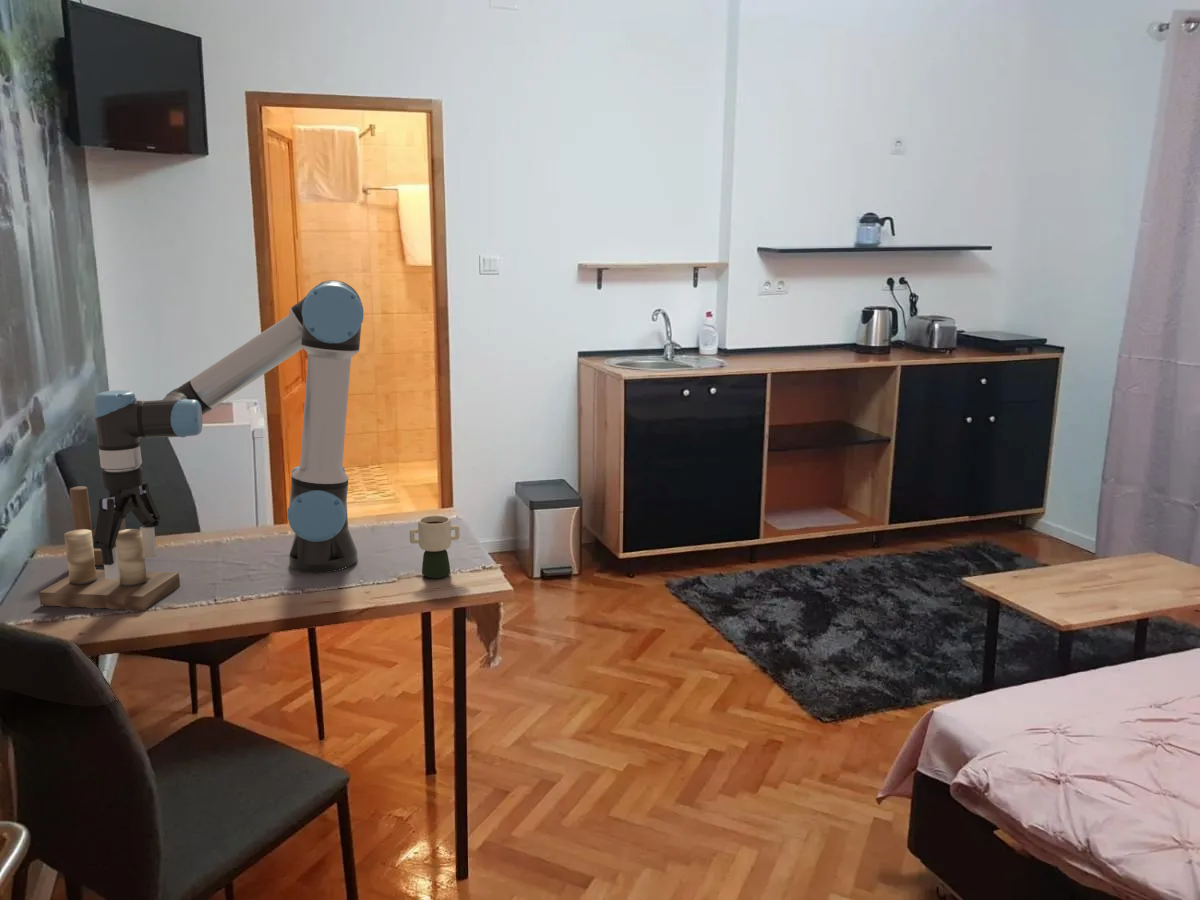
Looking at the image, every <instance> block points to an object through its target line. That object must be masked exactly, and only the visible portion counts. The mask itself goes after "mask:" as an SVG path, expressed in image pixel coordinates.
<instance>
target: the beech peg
mask: <svg viewBox="0 0 1200 900" xmlns="http://www.w3.org/2000/svg"><path fill="white" fill-rule="evenodd" d="M116 547H117V551H118V560H119V569H120V586H122V587H138V586H141V585H143V584H145V583H146V582H147V577H146V571H147V570H146V559H145V558H146V557H144V548H143V538H142V530H140V528H128V529H127V528H126V530H121V531H119V532H118V536H117V539H116Z"/></svg>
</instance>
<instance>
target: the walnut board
mask: <svg viewBox="0 0 1200 900" xmlns="http://www.w3.org/2000/svg"><path fill="white" fill-rule="evenodd" d="M92 531H93V530H92ZM92 531H91V530H87V529H81V530H70V531H66V532H65V533H64V534H63V537H64V545H65V546H64V547H65V552H66V553H65V554H66V561H67V562H66V563H67V571H68V576H66V577H64V578H63V579H60V580H59V581H57V582H55V583H54V584H51V585H49V586H48V587H45V588H44V589H42V590H41V591H38V596H39V603H40V606H41V605H45V606H44V607H46V606H62V607H61V608H70V607H87V608H86V609H94V608H109V609H108V610H118V609H124V610H125V611H142V612H143V611H146V610H147V609H148V608H150V607H151V606H153V605H155V604H156V603H158V602H159V601H160V600H162V599H163V598H165V597H166V596H167V595H170V593H172V592H174V591H175V590H176V589H178V588H180V586H181V581H180V572H172V571H169V572H168V571H147V570H146V577H147V582H146V583H145V584H143V585H141V586H138V587H122V586H120V579H118V580H117V579H105V570H104V569H96V566H97V565H96V566H95V558H94V549H93V540H94V539H93V540H92ZM124 610H123V611H124Z"/></svg>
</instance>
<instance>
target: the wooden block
mask: <svg viewBox="0 0 1200 900" xmlns="http://www.w3.org/2000/svg"><path fill="white" fill-rule="evenodd" d="M69 496H70V503H71V504H70V506H71V512H72V513H71V515H72V521H73V529H74V530H81V529H87V530H91V531H92V540H93V543H94V537H95V531H96V527H94V528H93V525H92V515H91V507H90V499H89V489H88V487H87V486H84V485H80V486H79V485H78V486H73V487H70V488H69ZM114 512H115V510H114ZM126 529H127V525H126V517H125V518H123V520H122V523H121V526H120V529H119V531H121V530H126ZM114 547H116V542H115V545H114ZM93 549H94V558H95V565H96V566H104V563H103V557H102V550H101V549H96V548H93Z"/></svg>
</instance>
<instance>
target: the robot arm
mask: <svg viewBox="0 0 1200 900" xmlns="http://www.w3.org/2000/svg"><path fill="white" fill-rule="evenodd" d="M361 300H362V299H361V297H360V296H359V293H358V292H357V291H356V289H354V288H353V287H352V286H351V285H350V284H349V283H346V282H344V281H341V280H335V279H333V280H326V281H322V282H320V283H318V284H317V285H316V286H314V287H313V288H312V289H311V290H310V291H309V292H308V293H307V294H306V296H305V297H303V298H302V299H301V300H300V301H298V302H297V303H295V304H294V305H293V306H291V307H290V308H289V312H288V314H287V315H286V316H285V317H283V318H282V319H280V320H279V321H277V322H276V323H274V324H273V325H271V326H269V327H268V328H267V329H265V330H263V331H262V332H261V333H258V335H256V336H254V337H253V338H252V339H250V340H248V341H246V343H243V344H242V345H241V346H238V348H236V349H235V350H233V351H232V352H230V353H229V354H227V355H226V356H224V357H223V358H221V359H220V360H217V362H215V363H214V364H212V365H210V366H209V367H207V368H206V369H204V370H202V371H201V372H200V373H198V374H197V375H196V376H194V377H192V378H191V379H189V381H187V382H185V383H183V384H181V385H180V386H179V387H177V388H173V390H171V391H170V392H169V393H167V394H166V395H165V397H163V398H162V399H161V400H160V399H159V400H158V399H157V400H137V397H136V394H135V392H133V391H131V390H122V389H121V390H120V389H119V390H107V391H102V392H98V393H97V394H96V395H95V396H94V399H93V402H94V403H93V404H94V415H93V419H94V421H95V428H96V436H97V444H98V445H97V446H98V454H99V462H100V463H99V464H100V468H101V469H102V470H101V472H100V473H101V474H100V475H101V483H102V488H103V489H105V490H107V491H108V498H107V497H106V498H99V499H98V513H97V521H96V525H95V526H96V527H95V528H96V531H95V536H93V540H94V543H93V548H96V549H101V550H102V557H103V563H104V565H103V570H105V579H117V580H118V579H120V569H119V560H118V551H117V547H114V545H115V542H116V539H117V536H118V532H119V529H120V526H121V523H122V520H123V518H125V519H126V517H127V514H129V513H130V512H131V513H132V514H133V515H134V517H136V519H137V520H138V521H139V523H140V524H141V525H142V526H140V527H139V529H140V530H142V538H143V548H144V557H145V558H156V557H158V555H157V552H158V551H157V543H156V542H157V541H156V533H155V527H159V526H160V521H161V515H160V513H159V511H158V508H157V506H156V505H155V502H154V499H153V497H152V495H151V493H150V487H149V484H148V482H144V472H143V467H142V466H141V465H142V464H143V460H142V453H141V444H140V443H141V441H140V439H149V438H150V439H151V438H185V437H192V436H198V435H200V434H201V432H203V431H202V430H203V415H205V414H206V413H208V412H210V411H211V410H212V409H213V408H215V407H217V406H218V405H220V404H221V403H223V402H224V401H225V400H227V399H229V398H230V397H231V396H233V395H235V394H236V393H238V392H240V391H241V390H242V389H244V388H245V387H247V386H249V385H250V384H251V383H253V382H255V381H256V380H257V379H259V378H260V377H263V375H265V374H267V373H269V372H270V371H271V370H272V369H274V368H275V367H278V366H279V365H281V364H282V363H284V362H285V361H287V360H288V359H290V358H291V357H292V356H294V355H296V354H297V353H299V352H301V350H304V351H305V352H306V353H307V365H306V378H305V379H306V381H305V394H304V405H303V406H304V407H303V419H302V420H303V421H302V435H301V449H300V450H301V451H300V461H299V462H300V463H299V465H298V466H295V467H294V468H293V469H292V470H291V478H290V480H291V481H290V482H291V483H290V492H289V493H290V494H289V505H288V508H287V512H286V516H287V520H288V523H289V526H290V528H291V530H292V531H293V533H294V537H293V540H292V544H291V548H290V552H289V556H288V560H289V562H288V563H289V567H290V568H291V569H292V570H294V571H297V572H301V573H308V574H310V573H312V574H315V573H316V574H317V573H318V574H319V573H320V572H322V573H330V572H329V571H331V572H335V571H334V570H337V571H340V570H339V569H341V570H343V569H342V568H344V569H346V568H345V567H347V568H349V567H348V566H350V565H352V564H353V563H355V562H356V561H357V562H358V560H357V559H359V558H358V549H357V546H356V544H355V542H354V540H353V537H352V533H351V532H350V529H349V521H348V502H347V501H348V500H347V499H348V488H349V475H348V474H347V473H346V470H345V469H346V468H345V467H344V466H343V460H344V448H345V438H346V437H345V436H346V423H347V413H348V412H347V410H348V400H349V386H350V376H351V366H352V365H351V363H352V358H353V357H354V356H355V355H356V354H358V353H359V352H360V346H361V345H360V344H361V343H360V342H361V334H362V333H361V332H362V325H363V321H364V313H365V312H364V307H363V302H362V301H361ZM114 510H115V512H114ZM357 562H356V563H357ZM356 563H355V564H356ZM353 565H354V564H353ZM353 565H352V566H353ZM350 567H351V566H350Z"/></svg>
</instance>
